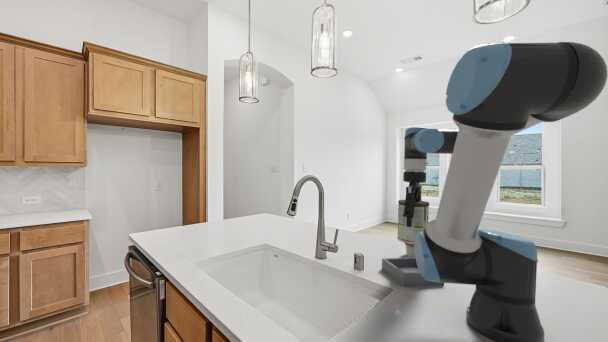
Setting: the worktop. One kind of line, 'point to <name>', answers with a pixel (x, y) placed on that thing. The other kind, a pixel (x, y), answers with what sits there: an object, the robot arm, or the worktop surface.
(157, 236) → the worktop surface
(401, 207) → the coffee can
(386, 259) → the housing tray
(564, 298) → the worktop surface
